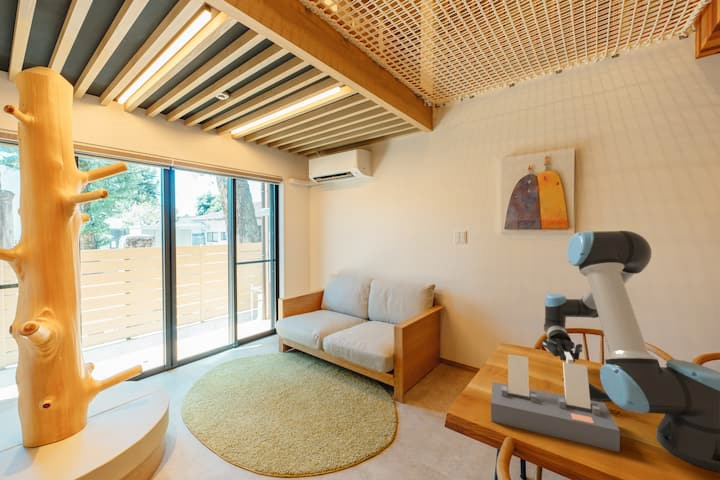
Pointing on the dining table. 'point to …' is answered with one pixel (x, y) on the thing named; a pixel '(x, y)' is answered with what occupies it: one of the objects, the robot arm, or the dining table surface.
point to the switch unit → (555, 417)
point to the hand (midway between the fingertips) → (570, 363)
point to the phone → (597, 394)
